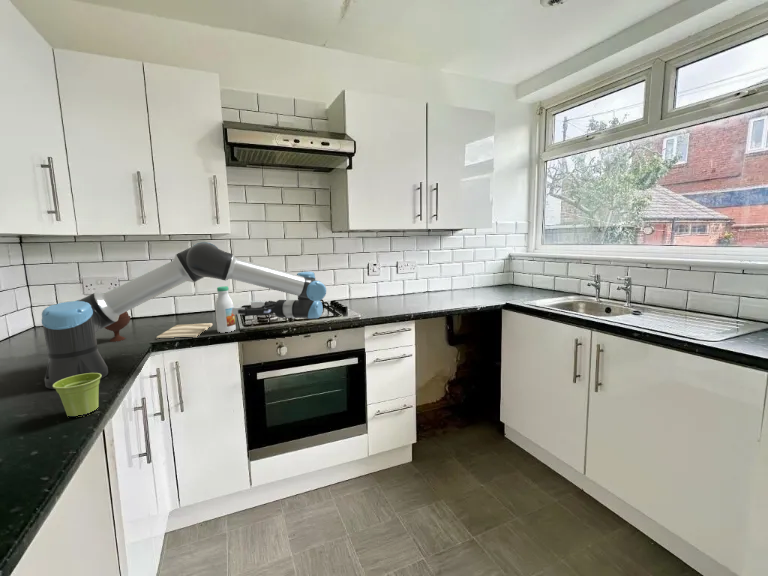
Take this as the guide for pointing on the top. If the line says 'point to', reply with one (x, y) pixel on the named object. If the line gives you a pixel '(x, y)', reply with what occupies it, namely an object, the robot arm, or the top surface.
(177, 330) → the birch board
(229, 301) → the milk bottle
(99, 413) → the top surface
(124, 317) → the ice cream bowl
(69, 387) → the plant pot
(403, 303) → the top surface
